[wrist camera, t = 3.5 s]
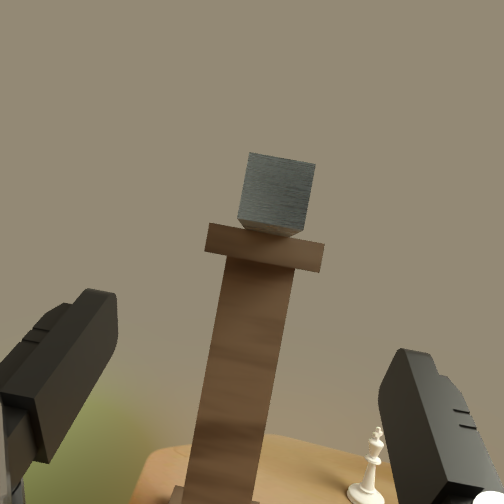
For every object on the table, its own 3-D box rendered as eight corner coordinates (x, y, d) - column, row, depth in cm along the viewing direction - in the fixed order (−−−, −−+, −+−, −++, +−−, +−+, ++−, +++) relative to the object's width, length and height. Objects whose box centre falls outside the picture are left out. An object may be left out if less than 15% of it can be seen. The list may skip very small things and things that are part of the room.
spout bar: (303, 230, 17) (315, 164, 17) (237, 218, 17) (249, 152, 17) (279, 241, 39) (284, 212, 39) (250, 236, 39) (255, 207, 39)
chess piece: (391, 506, 51) (405, 434, 51) (369, 516, 48) (384, 440, 48) (361, 484, 55) (374, 417, 55) (339, 492, 52) (353, 421, 52)
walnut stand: (253, 704, 26) (339, 246, 26) (111, 673, 26) (195, 220, 26) (256, 507, 46) (305, 248, 46) (175, 491, 46) (223, 233, 46)
